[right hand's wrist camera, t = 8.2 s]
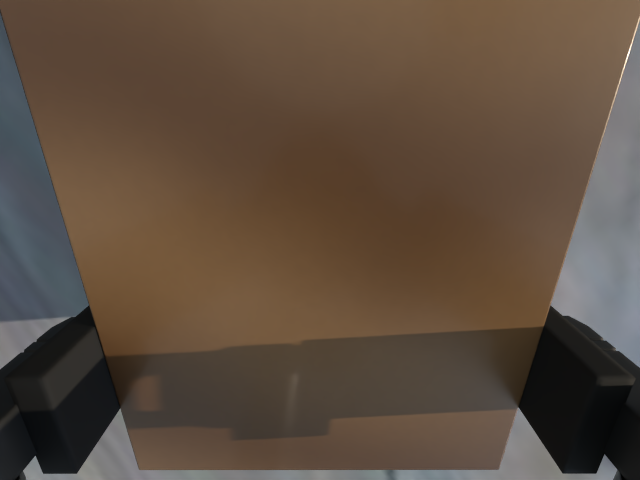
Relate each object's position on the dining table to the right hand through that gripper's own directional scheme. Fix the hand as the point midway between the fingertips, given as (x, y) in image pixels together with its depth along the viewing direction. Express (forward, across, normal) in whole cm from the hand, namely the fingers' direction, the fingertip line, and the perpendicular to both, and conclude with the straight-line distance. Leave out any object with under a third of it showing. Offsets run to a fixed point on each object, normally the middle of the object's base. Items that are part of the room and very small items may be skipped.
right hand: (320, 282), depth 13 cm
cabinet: (+5, 0, -7) cm, 8 cm away
